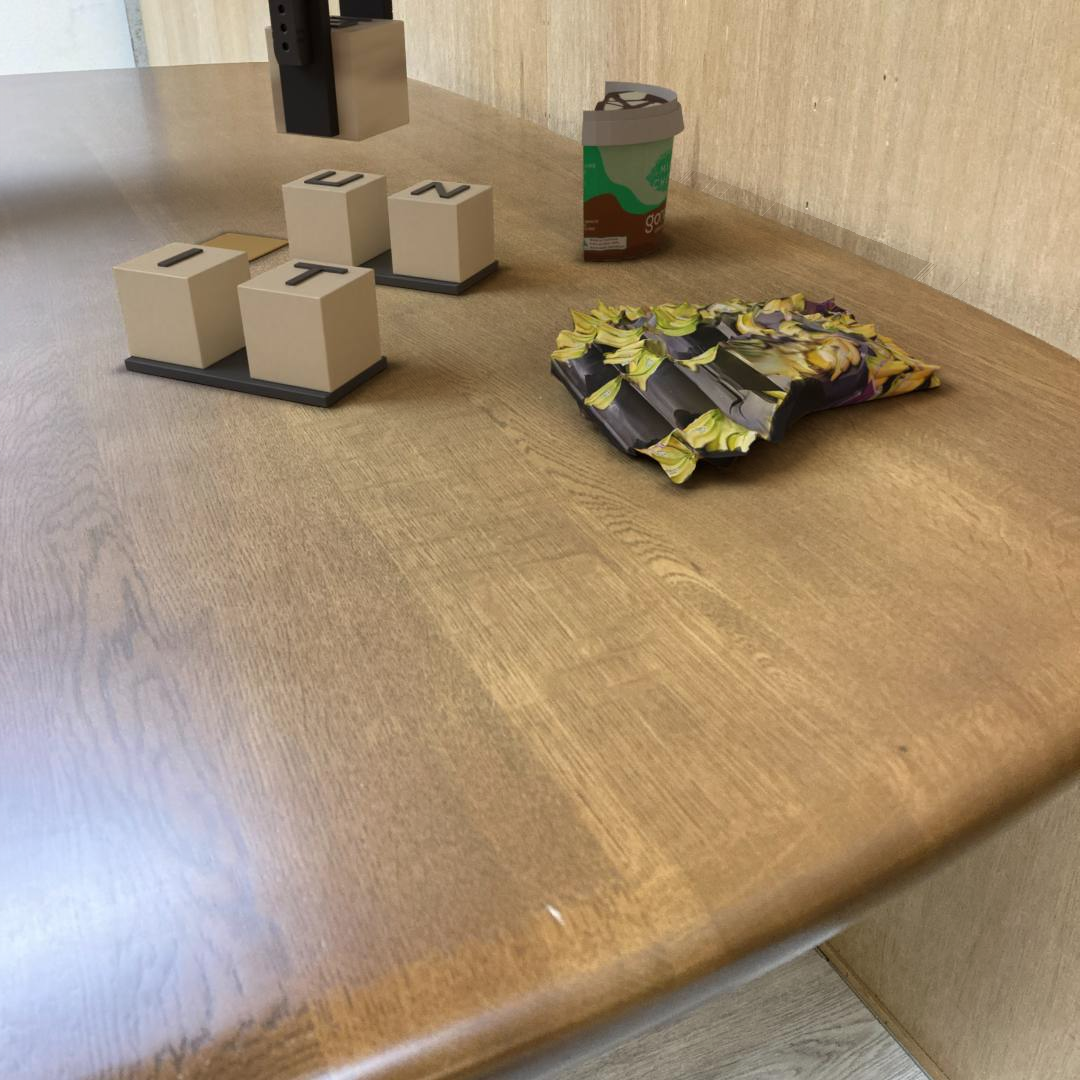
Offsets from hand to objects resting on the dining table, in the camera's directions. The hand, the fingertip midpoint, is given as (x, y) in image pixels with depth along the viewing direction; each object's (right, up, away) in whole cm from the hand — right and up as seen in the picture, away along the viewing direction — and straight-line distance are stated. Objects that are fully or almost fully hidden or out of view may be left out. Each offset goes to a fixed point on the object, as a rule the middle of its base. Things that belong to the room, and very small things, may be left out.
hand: (344, 121), depth 59 cm
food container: (+17, -1, +23) cm, 29 cm away
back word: (-4, -2, +20) cm, 20 cm away
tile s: (0, 0, 0) cm, 0 cm away
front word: (-5, -12, +3) cm, 14 cm away
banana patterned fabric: (+21, -14, 0) cm, 26 cm away
